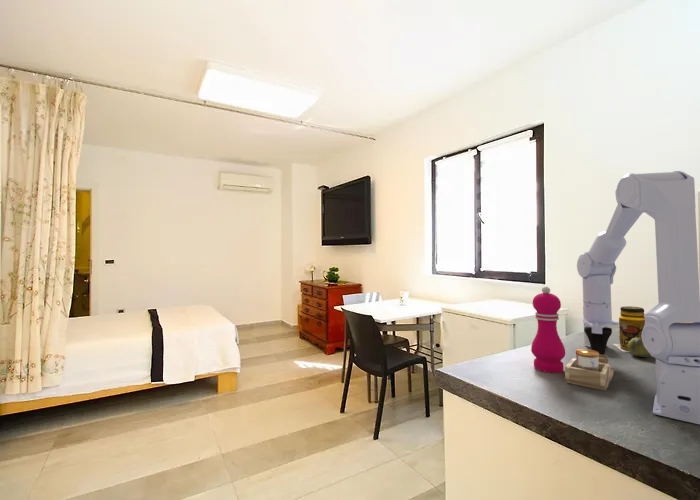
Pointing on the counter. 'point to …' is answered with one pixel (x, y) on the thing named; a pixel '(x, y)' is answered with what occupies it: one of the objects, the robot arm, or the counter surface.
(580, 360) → the small glass jar
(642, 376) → the counter surface
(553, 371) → the pepper mill
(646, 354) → the lime
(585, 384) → the mount
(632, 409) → the counter surface
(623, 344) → the condiment
